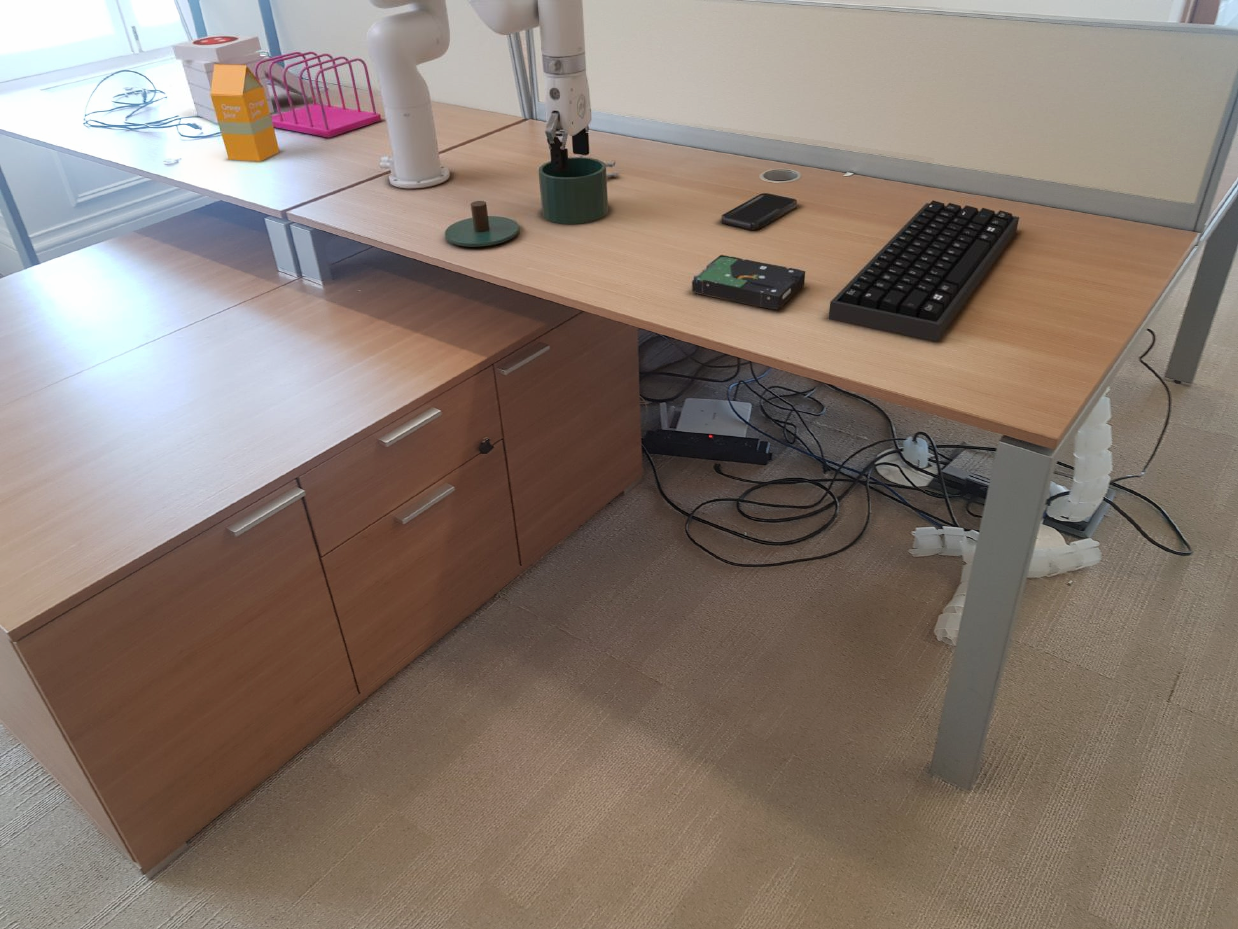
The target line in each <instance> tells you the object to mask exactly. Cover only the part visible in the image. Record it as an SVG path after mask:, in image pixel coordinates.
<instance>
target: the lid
mask: <svg viewBox="0 0 1238 929" xmlns="http://www.w3.org/2000/svg"><path fill="white" fill-rule="evenodd" d="M470 211H471V217H469V218H465V219H461V220H459V221H455V222H454V223H452V224H450V225H449V226H448V227H447V228H446V229H445V231H444V237H445V239H446V240H447V242H449V243H451V244H453V245H456V246H460V247H461V246H462V247H469V248H470V247H472V248H473V247H475V248H476V247H477V248H479V247H487V246H493V245H498V244H501V243H505V242H507V241H510V240H511V239H513V238H514V237H516V236H517V235H518V234H519V232H520V224H518V222H517V221H516V220H514V219H512V218H509V217H506V216H499V215H489V212H488V205H487V202H486V201H484V200H475V201H471V202H470Z"/></svg>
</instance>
